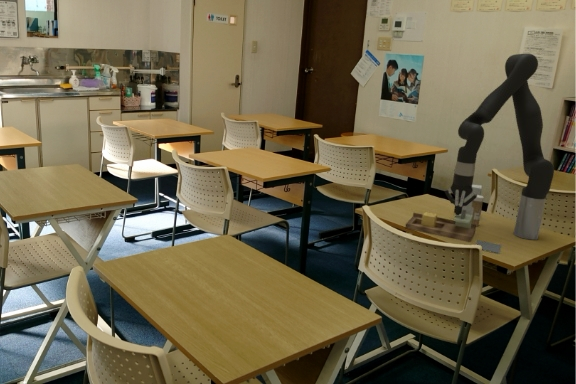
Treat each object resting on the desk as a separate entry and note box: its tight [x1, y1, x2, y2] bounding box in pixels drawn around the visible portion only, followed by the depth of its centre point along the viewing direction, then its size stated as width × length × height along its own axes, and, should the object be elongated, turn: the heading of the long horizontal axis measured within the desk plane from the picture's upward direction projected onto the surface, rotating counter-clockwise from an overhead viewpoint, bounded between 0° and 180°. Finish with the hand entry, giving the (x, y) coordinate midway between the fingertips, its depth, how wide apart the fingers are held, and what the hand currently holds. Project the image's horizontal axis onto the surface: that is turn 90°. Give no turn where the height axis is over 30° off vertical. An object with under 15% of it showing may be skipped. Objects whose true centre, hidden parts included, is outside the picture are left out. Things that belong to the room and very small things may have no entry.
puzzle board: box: [404, 212, 477, 243], centre depth 215 cm, size 26×13×4 cm, turn 64°
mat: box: [475, 239, 502, 254], centre depth 201 cm, size 10×10×1 cm
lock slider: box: [452, 210, 473, 229], centre depth 211 cm, size 6×10×8 cm, turn 154°
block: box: [421, 211, 438, 228], centre depth 216 cm, size 5×5×6 cm
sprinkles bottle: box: [470, 195, 485, 227], centre depth 225 cm, size 5×5×14 cm
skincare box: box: [462, 183, 483, 215], centre depth 237 cm, size 8×6×15 cm
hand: (457, 214), depth 211 cm, fingers closed
